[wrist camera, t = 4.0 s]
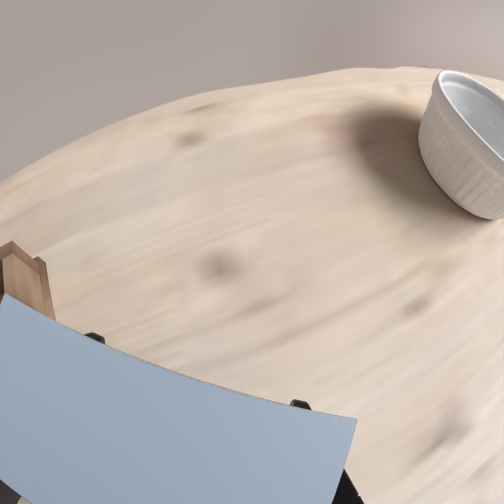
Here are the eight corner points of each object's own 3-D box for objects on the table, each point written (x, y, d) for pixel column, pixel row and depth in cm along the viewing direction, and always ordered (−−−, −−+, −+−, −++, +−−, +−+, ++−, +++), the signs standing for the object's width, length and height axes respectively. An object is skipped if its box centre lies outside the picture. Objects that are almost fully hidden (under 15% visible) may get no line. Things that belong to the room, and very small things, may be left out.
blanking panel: (246, 452, 13) (291, 591, 2) (141, 418, 13) (-35, 447, 2) (263, 398, 14) (357, 418, 3) (158, 366, 14) (4, 292, 4)
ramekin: (380, 118, 24) (407, 58, 18) (464, 123, 27) (491, 80, 20) (455, 247, 19) (514, 194, 13) (527, 221, 21) (568, 184, 15)
